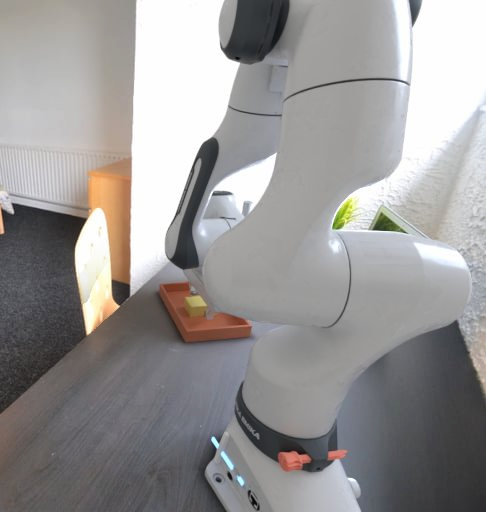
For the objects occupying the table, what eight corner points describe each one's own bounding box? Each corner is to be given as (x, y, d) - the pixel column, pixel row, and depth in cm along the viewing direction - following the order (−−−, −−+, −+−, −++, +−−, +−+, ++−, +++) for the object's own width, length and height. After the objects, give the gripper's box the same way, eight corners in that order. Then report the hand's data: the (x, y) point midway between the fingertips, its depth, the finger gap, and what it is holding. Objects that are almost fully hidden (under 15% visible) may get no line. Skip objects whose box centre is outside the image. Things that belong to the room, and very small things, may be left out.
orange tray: (249, 336, 84) (252, 325, 83) (185, 342, 83) (186, 331, 81) (211, 289, 103) (213, 279, 102) (158, 293, 102) (159, 283, 100)
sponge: (209, 304, 95) (211, 295, 94) (217, 314, 91) (219, 304, 90) (183, 307, 94) (184, 297, 93) (190, 317, 90) (191, 306, 89)
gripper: (241, 278, 77) (231, 331, 83) (203, 239, 95) (197, 285, 101) (212, 280, 76) (205, 333, 83) (180, 241, 95) (175, 287, 101)
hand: (200, 307), depth 92 cm, fingers open, 8 cm apart
